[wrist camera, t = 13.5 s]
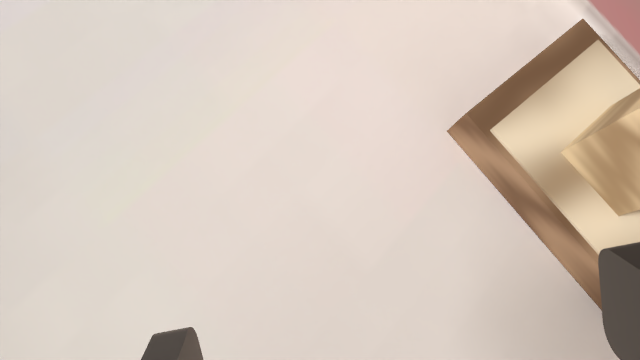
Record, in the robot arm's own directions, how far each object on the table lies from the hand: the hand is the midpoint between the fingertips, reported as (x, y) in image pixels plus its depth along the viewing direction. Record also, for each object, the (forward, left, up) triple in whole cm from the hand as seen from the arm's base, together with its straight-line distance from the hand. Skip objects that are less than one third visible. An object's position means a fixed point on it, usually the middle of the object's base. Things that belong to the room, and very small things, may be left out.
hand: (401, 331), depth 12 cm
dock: (+4, +20, -20) cm, 28 cm away
